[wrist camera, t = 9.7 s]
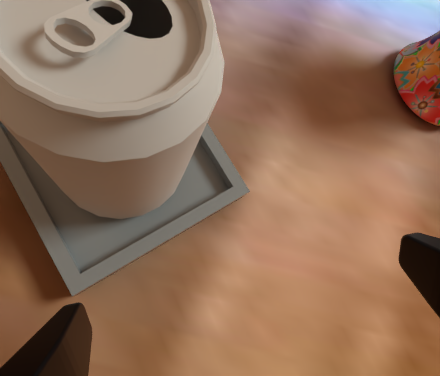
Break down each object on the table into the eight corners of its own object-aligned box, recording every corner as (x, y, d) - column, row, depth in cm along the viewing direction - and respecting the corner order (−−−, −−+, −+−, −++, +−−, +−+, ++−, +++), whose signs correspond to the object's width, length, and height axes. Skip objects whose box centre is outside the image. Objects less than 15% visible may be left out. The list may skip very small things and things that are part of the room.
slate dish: (77, 294, 17) (72, 296, 16) (-15, 122, 18) (-28, 109, 17) (242, 197, 21) (249, 191, 20) (158, 60, 22) (159, 46, 21)
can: (204, 152, 21) (283, 9, 10) (135, 246, 18) (132, 200, 7) (111, 86, 20) (79, -145, 9) (26, 172, 18) (-166, -6, 6)
